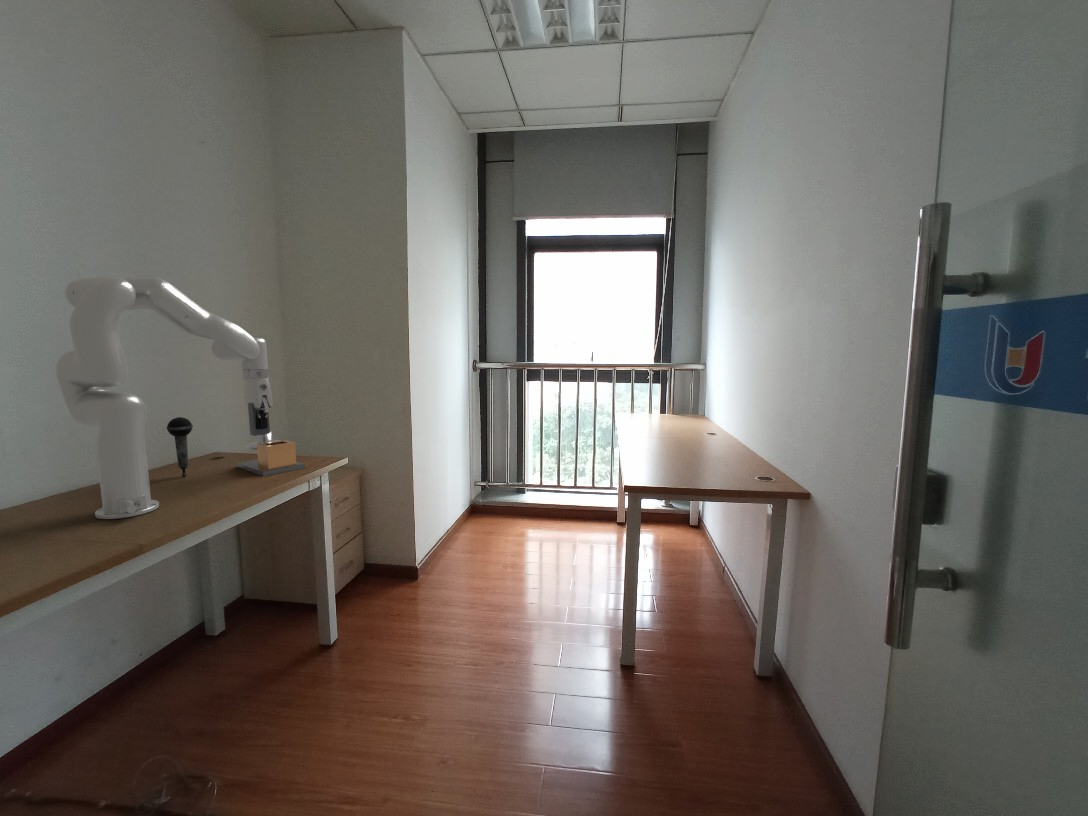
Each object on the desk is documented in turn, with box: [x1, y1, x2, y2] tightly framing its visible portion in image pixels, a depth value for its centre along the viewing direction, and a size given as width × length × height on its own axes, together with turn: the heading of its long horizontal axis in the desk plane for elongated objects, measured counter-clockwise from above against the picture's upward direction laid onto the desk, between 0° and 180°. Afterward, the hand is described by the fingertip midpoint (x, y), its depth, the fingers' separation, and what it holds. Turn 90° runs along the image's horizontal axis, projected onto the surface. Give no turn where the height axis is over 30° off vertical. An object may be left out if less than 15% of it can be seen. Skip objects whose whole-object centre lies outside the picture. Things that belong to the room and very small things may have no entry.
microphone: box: [166, 416, 194, 478], centre depth 155 cm, size 7×7×20 cm
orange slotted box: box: [236, 430, 306, 477], centre depth 168 cm, size 20×14×12 cm
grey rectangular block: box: [247, 403, 271, 437], centre depth 160 cm, size 3×5×11 cm, turn 145°
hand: (259, 427), depth 160 cm, fingers closed on grey rectangular block, 3 cm apart
